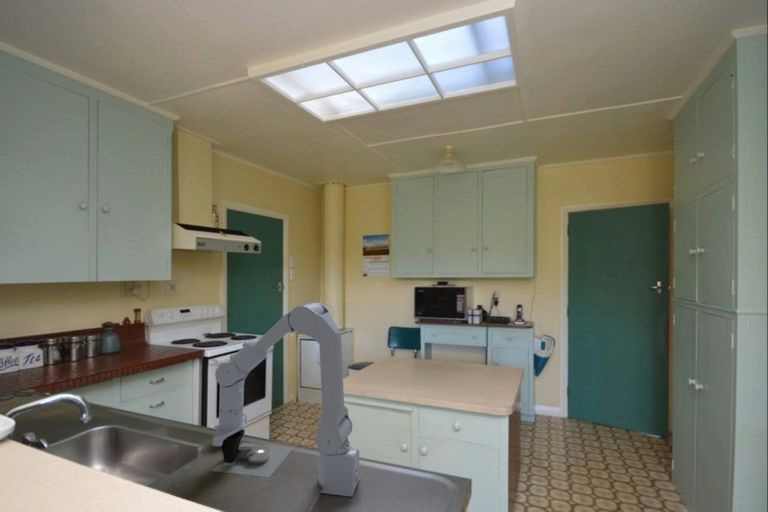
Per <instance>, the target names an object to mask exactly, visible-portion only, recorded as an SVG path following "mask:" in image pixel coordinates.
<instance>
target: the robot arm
mask: <svg viewBox="0 0 768 512" xmlns="http://www.w3.org/2000/svg"><path fill="white" fill-rule="evenodd" d="M294 332H297V333H299V334H301V335H304V336H306V337H310V338H311V339H312V340H314V341H315V342H316V343H318V344H319V345H318V346H319V363H320V364H319V365H320V367H319V368H320V382H321V383H320V384H321V410H322V411H321V414H320V418H319V421H318V427H319V429H318V432H317V434H316V438H315V443H316V446H317V448H318V449H319V451H318V452H319V455H318V456H319V457H318V484H319V485H320V486H321V487H320V490H319V491H318V494H319V493H320V494H326V495H332V496H333V495H335V496H336V495H337V496H343V497H350V498H351V497H353V496H354V493H355V491H356V487H357V485H358V483H359V481H360V476H359V475H360V450H359V449H358V448H354V447H352V446H351V444H350V441H349V439H348V437H349V436H350V435H351V434H352V430H353V422H352V420H351V418H350V416H349V409H348V407H346V406H345V398H344V376H343V375H344V373H343V356H342V355H343V353H342V352H343V351H342V350H343V349H342V334H341V331H340V329H339V327H338V325H337V323H336V322H335V321H334V318H333V317H332V315H331V311H330V309H329V308H328V307H326V306H325V305H324V304H322V303H320V302H318V301H312V302H309V303H307V304H304V305H297V306H295V307H293V309H292V310H291V311H289V312H287V313H286V314H284V315H283V316H282V317H281V318H280V319H279V320H278V321H276V323H275V324H273V326H272V327H271V328H270V329H269V330H267V331H266V333H264V334H263V335H262V337H260V338H259V339H258V340H255V339H251V340H250V341H249V340H247V341H245V342H243V344H242V348H240V350H238V351H237V352H236V353H233V354H231V355H230V356H229V360H228V361H225V362H222V363H220V364H219V365H218V366H217V368H216V369H215V374H214V375H215V377H214V378H215V380H216V382H217V383H218V385H219V406H218V407H219V408H218V409H219V411H218V422H217V423H216V424H214V429H215V430H216V432H215V433H214V434H215V435H214V436H213V437H212V447H220V449H221V452H222V457H223V456H224V460H225V463H233V462H234V461H235V459H236V455H237V451H238V447H239V446H240V445H241V444H240V443H241V441H242V439H243V437H244V435H245V431H246V430H245V429H243V428H245V427H244V426H245V423H247V420H248V415H247V413H244V399H245V398H244V395H245V393H244V392H245V380H246V378H247V377H248V375H249V373H250V372H251V371H252V370H254V369H255V368H256V367H257V366H258V365H259V364H260V363H262V362H263V361H264V360H265V359H266V358H267V354H268V350H269V349H270V348H271V347H273V346H274V345H275V344H277V342H279V341H280V340H281V339H283V338H284V337H285V336H286V335H287V334H289V333H294Z"/></svg>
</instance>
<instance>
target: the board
mask: <svg viewBox="0 0 768 512" xmlns="http://www.w3.org/2000/svg"><path fill="white" fill-rule="evenodd" d="M256 445H261V444H259V443H248V442H242V443H241V444H239V447H252V446H256ZM264 445H265V446H268V447H269V460H268V461H267V462H266V463H264V464H261V465H249V464H248V463H247V461H246V460H235V461H234V462H233V463H225V461H223V460H222V462H220V463H219V464H218V465H217V466H216V467H215V468H214V469H212V472H218V473H225V474H226V473H227V474H233V475H234V474H235V475H244V476H252V477H253V476H254V477H260V478H261V477H262V478H268V479H269V478H271V476H272V475H273V474H274V473H275V471H277V469H278V467H279V466H280V465H281V464H282V462H284V460H285V459H286V458H287V457H288V456H289V454H290V453H291V452H292V450H294V447H287V446H279V445H270V444H264Z"/></svg>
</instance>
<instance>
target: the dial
mask: <svg viewBox="0 0 768 512" xmlns="http://www.w3.org/2000/svg"><path fill="white" fill-rule="evenodd" d="M265 445H266V444H260V445H256V446H252V447H238V451H237V455H236V459H235V460H246V461H247V463H248V464H249V465H261V464H264V463H266V462H267V461H268V460H269V447H268V446H265ZM222 461H225V460H224V456H223V455H222Z"/></svg>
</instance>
